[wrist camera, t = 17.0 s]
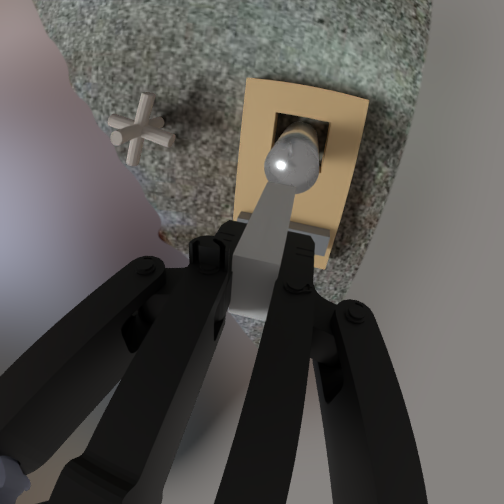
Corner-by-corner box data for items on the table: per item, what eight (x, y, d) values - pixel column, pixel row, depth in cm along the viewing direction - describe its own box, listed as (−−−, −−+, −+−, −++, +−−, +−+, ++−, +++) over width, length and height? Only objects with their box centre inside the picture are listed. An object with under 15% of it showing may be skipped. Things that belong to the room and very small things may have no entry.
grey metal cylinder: (285, 118, 31) (267, 137, 20) (320, 125, 31) (323, 148, 19) (281, 151, 34) (261, 188, 23) (314, 157, 33) (313, 199, 22)
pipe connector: (199, 100, 32) (161, 108, 24) (178, 164, 38) (142, 189, 30) (140, 83, 31) (94, 89, 23) (126, 143, 37) (83, 163, 29)
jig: (252, 78, 29) (242, 77, 25) (364, 99, 27) (372, 101, 23) (236, 238, 43) (226, 257, 39) (324, 257, 41) (324, 278, 37)
